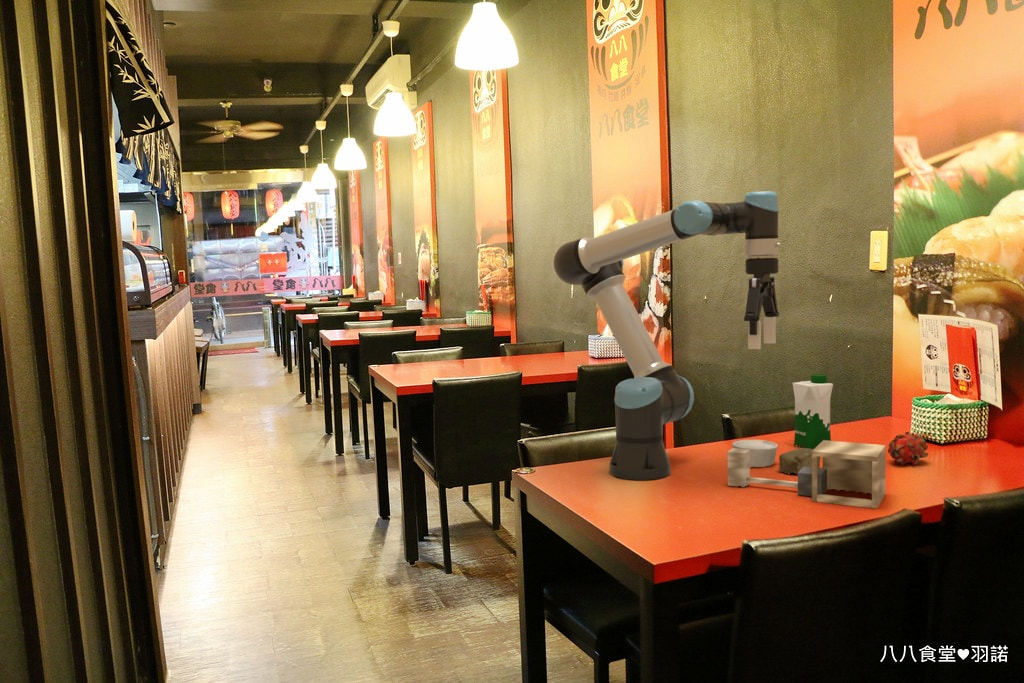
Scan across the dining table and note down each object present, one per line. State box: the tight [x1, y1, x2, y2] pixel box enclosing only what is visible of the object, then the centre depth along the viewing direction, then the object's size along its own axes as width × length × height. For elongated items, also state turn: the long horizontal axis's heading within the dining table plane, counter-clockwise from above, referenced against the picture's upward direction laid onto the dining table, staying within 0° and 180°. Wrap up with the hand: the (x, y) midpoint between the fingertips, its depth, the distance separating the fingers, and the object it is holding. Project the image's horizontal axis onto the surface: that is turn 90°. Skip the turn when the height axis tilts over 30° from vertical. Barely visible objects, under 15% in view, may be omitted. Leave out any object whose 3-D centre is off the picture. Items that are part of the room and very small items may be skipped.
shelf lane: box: [811, 440, 887, 510], centre depth 177 cm, size 13×12×11 cm
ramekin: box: [731, 439, 779, 468], centre depth 210 cm, size 11×11×5 cm
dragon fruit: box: [887, 431, 929, 466], centre depth 205 cm, size 8×8×12 cm
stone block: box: [778, 447, 821, 475], centre depth 202 cm, size 6×12×5 cm, turn 132°
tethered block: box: [727, 448, 828, 497], centre depth 186 cm, size 21×6×8 cm, turn 58°
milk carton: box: [791, 373, 834, 449], centre depth 226 cm, size 9×9×20 cm
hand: (762, 346), depth 195 cm, fingers open, 13 cm apart
